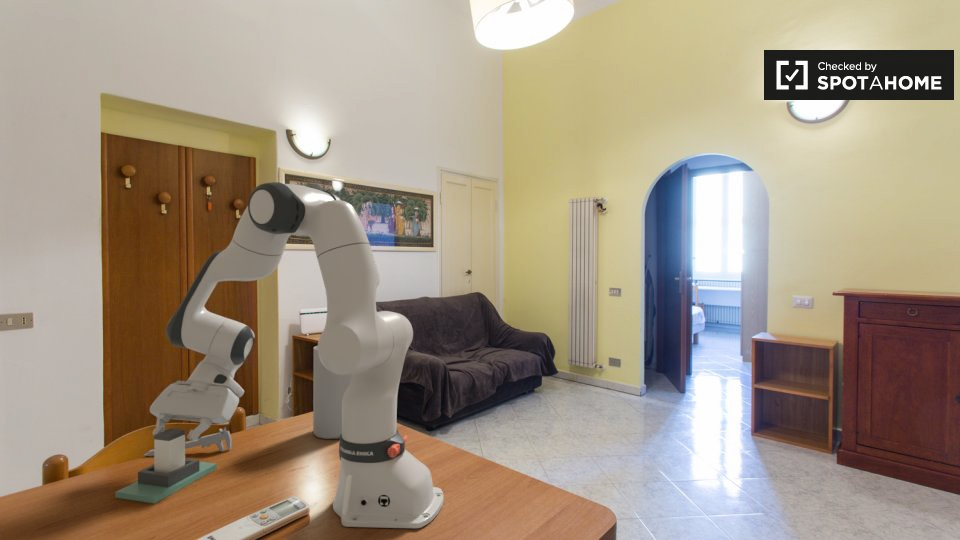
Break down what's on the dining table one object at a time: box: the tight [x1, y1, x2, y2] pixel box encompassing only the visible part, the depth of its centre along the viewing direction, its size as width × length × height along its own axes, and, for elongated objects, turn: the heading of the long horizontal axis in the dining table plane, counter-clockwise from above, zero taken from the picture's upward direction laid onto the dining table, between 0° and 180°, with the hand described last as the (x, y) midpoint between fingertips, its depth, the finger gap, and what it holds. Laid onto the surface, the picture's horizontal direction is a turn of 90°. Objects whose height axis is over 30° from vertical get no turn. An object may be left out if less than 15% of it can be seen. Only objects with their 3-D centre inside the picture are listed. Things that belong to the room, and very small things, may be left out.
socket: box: [115, 457, 218, 504], centre depth 100 cm, size 10×16×4 cm, turn 167°
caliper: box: [142, 426, 232, 457], centre depth 116 cm, size 20×1×6 cm, turn 101°
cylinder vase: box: [312, 345, 353, 440], centre depth 131 cm, size 12×12×25 cm
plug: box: [153, 427, 186, 473], centre depth 100 cm, size 4×4×10 cm
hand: (173, 437), depth 101 cm, fingers open, 8 cm apart
